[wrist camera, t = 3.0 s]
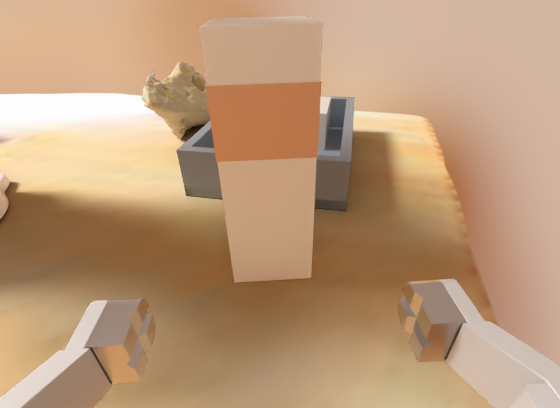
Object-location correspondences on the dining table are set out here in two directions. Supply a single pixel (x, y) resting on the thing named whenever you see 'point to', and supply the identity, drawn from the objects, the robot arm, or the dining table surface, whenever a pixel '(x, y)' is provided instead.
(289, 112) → the juice carton
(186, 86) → the beige rock
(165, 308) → the dining table surface
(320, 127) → the white rectangular block
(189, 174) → the tote
